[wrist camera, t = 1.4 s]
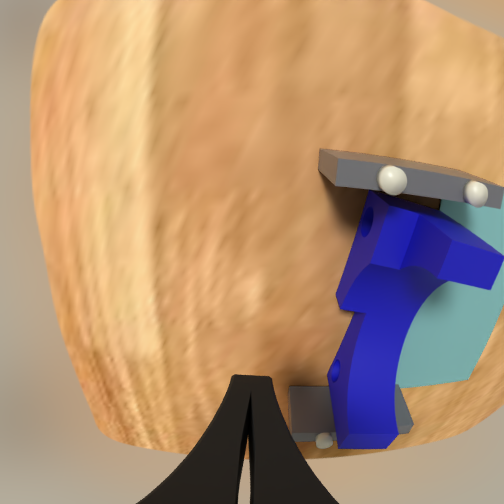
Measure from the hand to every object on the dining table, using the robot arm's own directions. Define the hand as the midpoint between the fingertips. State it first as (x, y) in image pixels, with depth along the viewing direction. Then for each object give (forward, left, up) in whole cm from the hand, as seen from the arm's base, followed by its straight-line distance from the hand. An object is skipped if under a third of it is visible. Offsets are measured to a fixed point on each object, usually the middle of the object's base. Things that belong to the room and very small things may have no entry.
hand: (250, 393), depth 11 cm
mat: (-14, 0, -7) cm, 15 cm away
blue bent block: (-7, 0, -7) cm, 10 cm away
